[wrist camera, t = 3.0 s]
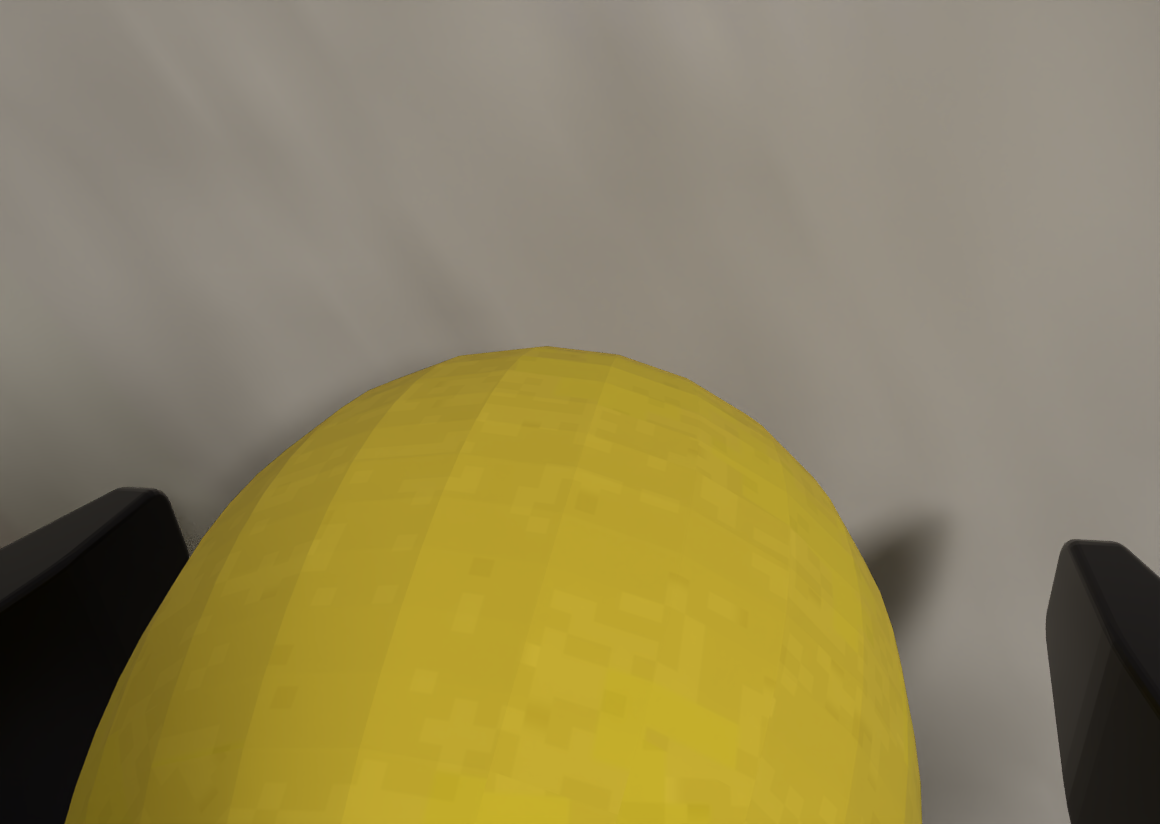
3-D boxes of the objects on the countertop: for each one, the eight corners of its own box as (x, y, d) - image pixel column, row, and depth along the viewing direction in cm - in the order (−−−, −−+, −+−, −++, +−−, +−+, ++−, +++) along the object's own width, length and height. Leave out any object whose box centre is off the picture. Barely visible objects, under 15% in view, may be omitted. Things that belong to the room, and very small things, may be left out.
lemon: (923, 202, 9) (1217, 1590, 2) (852, 661, 12) (895, 1808, 5) (309, 181, 10) (-682, 1126, 3) (391, 610, 13) (-41, 1535, 6)
